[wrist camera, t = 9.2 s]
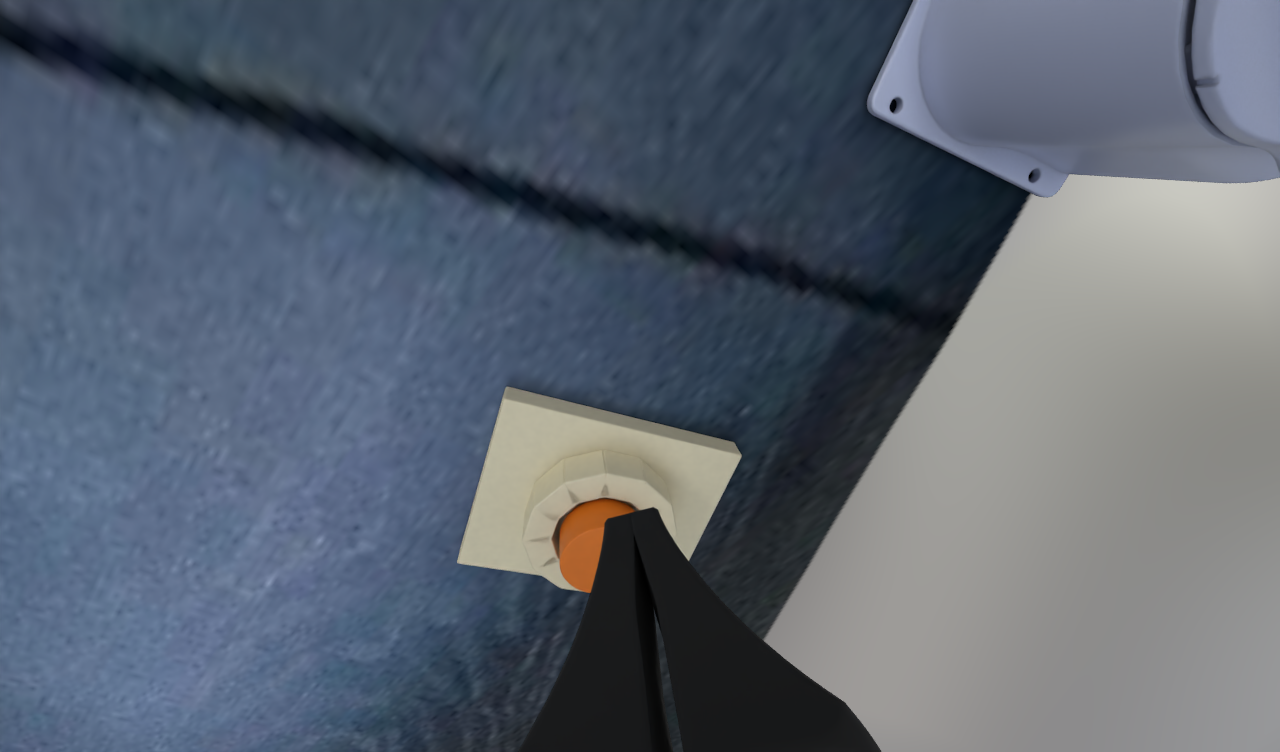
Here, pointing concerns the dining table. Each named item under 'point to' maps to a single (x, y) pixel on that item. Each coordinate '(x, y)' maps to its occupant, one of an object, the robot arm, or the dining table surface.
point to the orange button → (585, 540)
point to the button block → (585, 479)
